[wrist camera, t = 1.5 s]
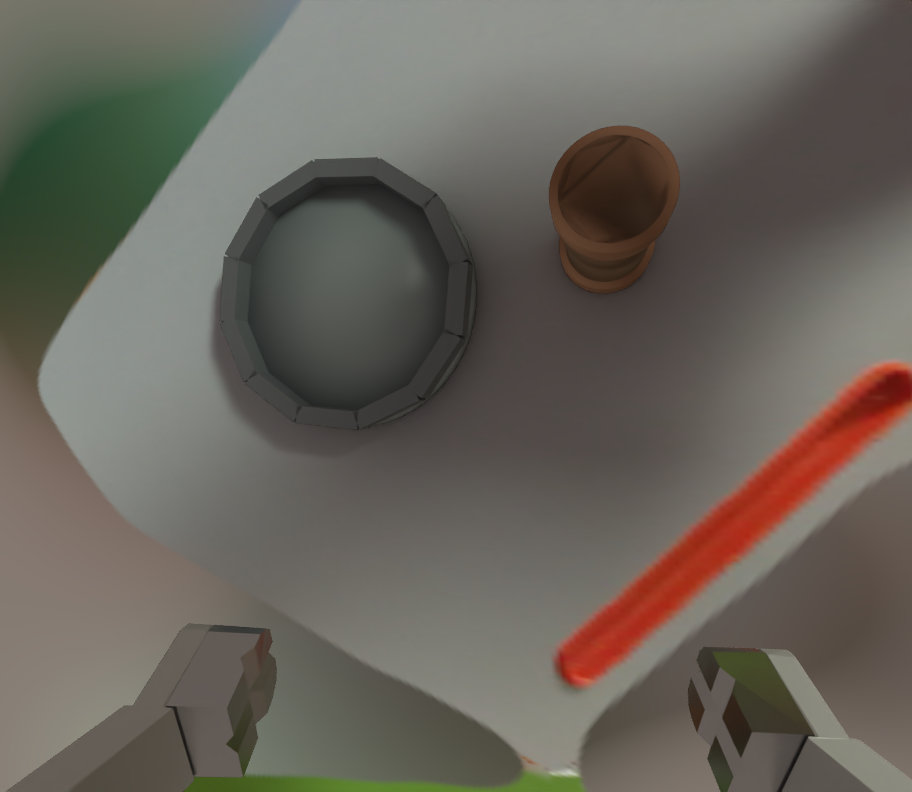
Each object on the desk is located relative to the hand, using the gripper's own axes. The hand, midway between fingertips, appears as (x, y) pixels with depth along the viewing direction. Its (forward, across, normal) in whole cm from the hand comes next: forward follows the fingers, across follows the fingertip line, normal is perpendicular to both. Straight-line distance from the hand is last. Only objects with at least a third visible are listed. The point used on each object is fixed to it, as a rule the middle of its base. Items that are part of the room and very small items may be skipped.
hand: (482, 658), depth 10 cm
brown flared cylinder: (+27, -8, -4) cm, 28 cm away
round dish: (+30, +9, +1) cm, 31 cm away
